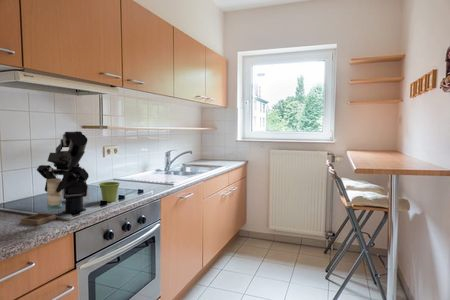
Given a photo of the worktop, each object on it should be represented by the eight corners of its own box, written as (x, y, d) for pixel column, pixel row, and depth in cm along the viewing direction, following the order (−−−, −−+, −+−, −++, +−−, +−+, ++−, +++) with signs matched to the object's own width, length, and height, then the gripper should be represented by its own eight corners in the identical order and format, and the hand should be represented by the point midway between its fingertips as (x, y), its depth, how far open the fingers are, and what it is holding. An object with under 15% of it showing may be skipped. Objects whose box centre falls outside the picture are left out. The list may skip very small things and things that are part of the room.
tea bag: (77, 198, 147) (76, 178, 146) (88, 199, 145) (88, 179, 144) (71, 200, 143) (71, 179, 143) (83, 201, 142) (82, 180, 141)
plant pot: (110, 197, 149) (110, 181, 148) (124, 200, 145) (123, 182, 144) (94, 201, 141) (94, 183, 140) (108, 204, 136) (108, 185, 136)
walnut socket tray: (38, 217, 115) (38, 212, 115) (56, 219, 113) (55, 214, 113) (20, 223, 107) (20, 218, 107) (38, 225, 105) (38, 220, 105)
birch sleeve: (54, 206, 111) (53, 178, 110) (64, 207, 110) (63, 178, 109) (44, 210, 106) (43, 180, 106) (55, 211, 105) (54, 180, 105)
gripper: (39, 144, 112) (14, 177, 102) (83, 145, 109) (61, 179, 98) (55, 162, 120) (34, 194, 110) (96, 164, 117) (78, 197, 107)
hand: (51, 191), depth 106 cm, fingers closed on birch sleeve, 4 cm apart
